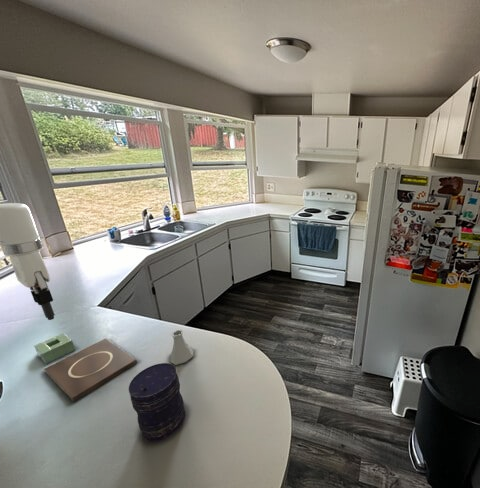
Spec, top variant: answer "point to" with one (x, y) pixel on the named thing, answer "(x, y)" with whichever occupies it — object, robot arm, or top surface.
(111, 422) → the top surface
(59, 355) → the pen stand
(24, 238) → the robot arm
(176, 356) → the flask
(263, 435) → the top surface
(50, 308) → the marker
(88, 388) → the board
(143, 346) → the top surface
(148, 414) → the storage jar
